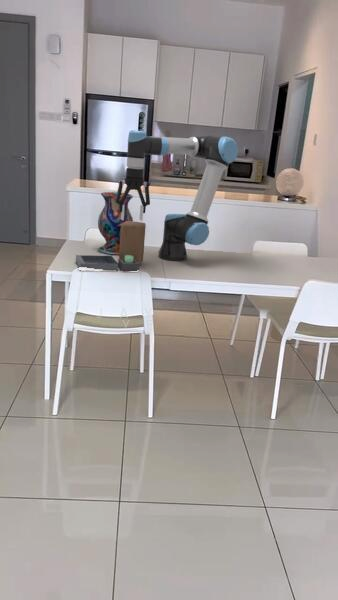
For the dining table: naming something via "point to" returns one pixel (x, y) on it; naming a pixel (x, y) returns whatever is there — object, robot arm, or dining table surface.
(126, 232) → the wooden block
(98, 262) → the dark grey tray
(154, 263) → the dining table surface
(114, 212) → the vase
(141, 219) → the robot arm
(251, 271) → the dining table surface
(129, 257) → the plunger
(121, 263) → the dark grey square block
